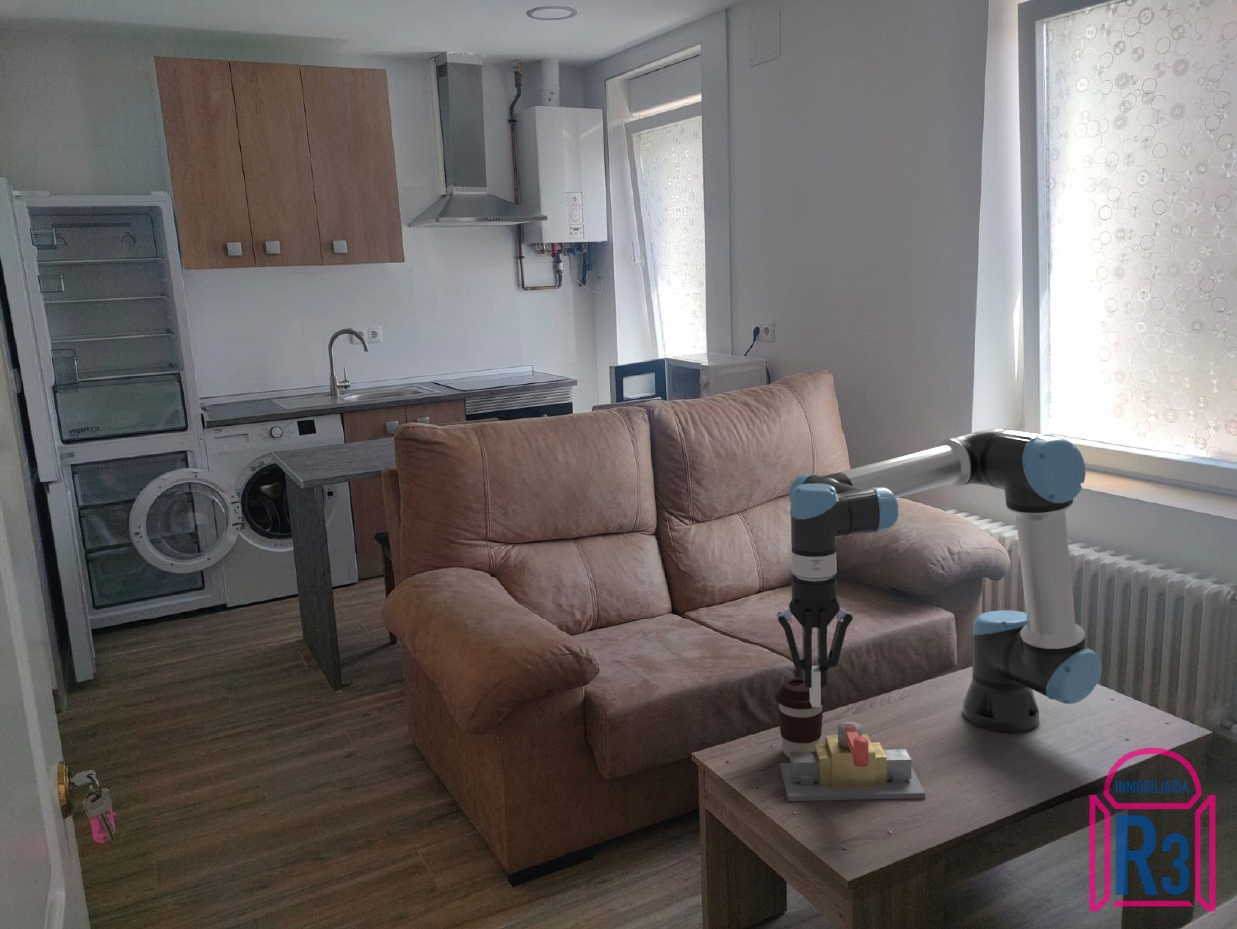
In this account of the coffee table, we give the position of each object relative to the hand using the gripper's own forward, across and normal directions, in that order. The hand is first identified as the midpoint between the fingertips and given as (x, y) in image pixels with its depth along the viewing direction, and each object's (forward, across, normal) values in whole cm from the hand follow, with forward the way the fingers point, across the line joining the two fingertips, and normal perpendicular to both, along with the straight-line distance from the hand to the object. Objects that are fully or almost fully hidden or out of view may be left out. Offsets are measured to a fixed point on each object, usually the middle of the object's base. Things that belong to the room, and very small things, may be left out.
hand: (815, 703), depth 162 cm
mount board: (+22, +8, +11) cm, 26 cm away
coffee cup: (+22, +1, +23) cm, 32 cm away
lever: (+13, +8, +7) cm, 17 cm away
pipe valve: (+22, +8, +11) cm, 26 cm away
